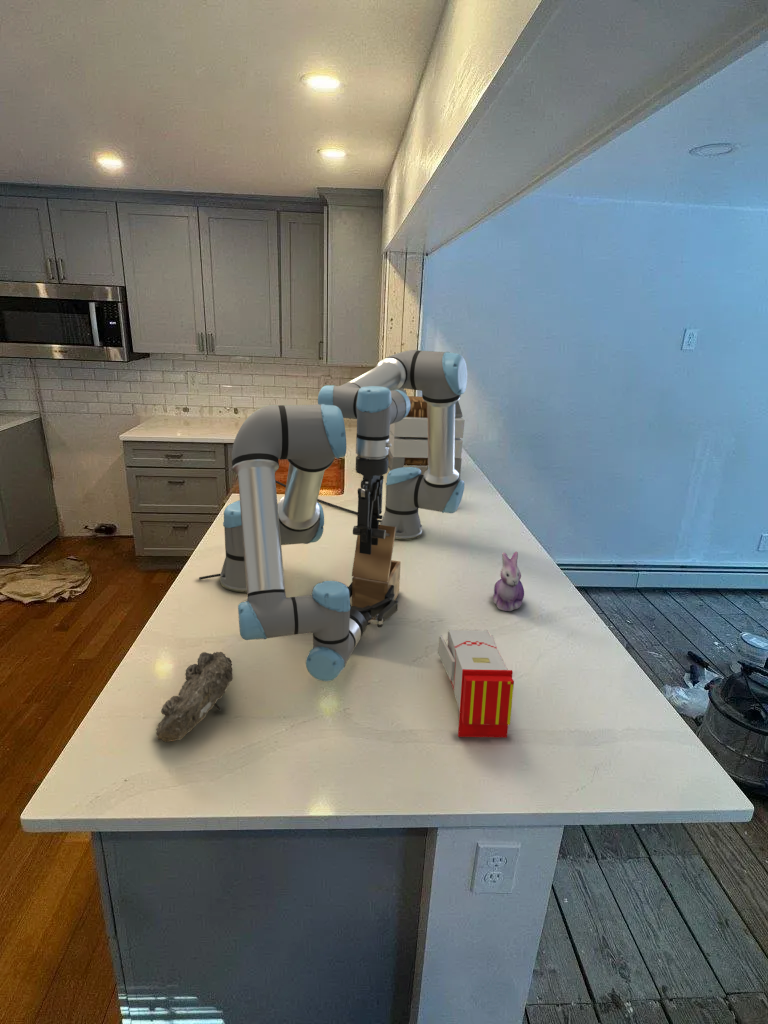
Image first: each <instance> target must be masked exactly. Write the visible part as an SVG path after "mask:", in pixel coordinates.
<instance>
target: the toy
mask: <svg viewBox="0 0 768 1024" xmlns="http://www.w3.org/2000/svg"><path fill="white" fill-rule="evenodd" d="M446 640H447V643H446V641H445V639H444V636H443V635H442V634H439V637H438V646H437V656H438V657H439V659H440V661H441V663H442V666H443V668H444V670H445V672H446V674H447V677H448V679H449V681H450V684H451V687H452V690H453V693H454V697H455V701H456V705H457V708H458V711H459V714H458V715H459V716H458V730H457V731H458V732H457V737H458V738H508V731H509V726H510V725H511V717H512V707H513V697H514V696H513V695H514V684H515V680H514V679H513V673H514V671H513V670H512V669H508V667H507V665H506V662H505V661H504V659H503V658H502V655H501V653H500V651H499V649H498V647H497V643H496V639H495V637H494V635H493V634H491V632H490V631H489V629H467V628H466V629H465V628H463V629H461V628H460V629H459V628H448V630H447V639H446Z"/></svg>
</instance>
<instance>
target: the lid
mask: <svg viewBox="0 0 768 1024" xmlns="http://www.w3.org/2000/svg"><path fill="white" fill-rule="evenodd" d="M356 526H357V525H354V526H353V528H352V535H355V536H356V544H355V548H354V549H355V550H354V558H353V564H352V572H351V577H352V578H353V577H359V578H365V579H372V580H378V581H384V582H388V581H389V574H390V566H391V560H393V551H394V544H395V539H394V538H395V531H396V527H392V526H385V525H380V524H379V529H374V528H372V537H373V538H378V545H371V554H370V555H369V554H363V553H359V551H360V529H358V528H356Z"/></svg>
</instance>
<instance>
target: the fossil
mask: <svg viewBox="0 0 768 1024" xmlns="http://www.w3.org/2000/svg"><path fill="white" fill-rule="evenodd" d="M196 662H197V663H193V664H189V665H188V666H187V668H186V669H185V673H184V676H185V677H184V678H185V681H184V683H183V684H182V685H181V688H180V690H179V692H178V695H173V696H172V697H170V699H168V700H166V701H165V703H164V704H163V705H162V707H161V710H160V712H161V714H162V715H163V718H162V719H161V721H159V722H158V723H157V728H156V732H155V733H156V736H157V740H162V741H163V742H164V743H170V742H174V741H181V740H182V739H183V738H184V737H185V736H186V735H187V734H188V733H189V732H191V731H192V730H193V729H194V728H195V727H196V726H197V725H198V724H199V723H200V722H201V721H202V720H203V719H205V718H206V716H207V715H208V712H209V711H210V710H212V709H213V707H215V708H216V709H217V711H221V710H222V707H220V705H218V704H217V701H218V700H219V699H221V698H222V697H223V696H224V695H225V693H226V689H228V687H229V685H230V683H231V682H233V680H234V679H233V678H234V674H233V671H234V670H233V662H232V659H231V658H230V657H228V656H227V655H226V653H224V652H223V651H216V652H215V651H214V652H212V653H211V652H206V651H204V652H203V651H202V652H201V653H200V654H199V656H198V658H197V661H196Z"/></svg>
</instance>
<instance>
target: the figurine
mask: <svg viewBox="0 0 768 1024" xmlns="http://www.w3.org/2000/svg"><path fill="white" fill-rule="evenodd" d="M501 558H502V559H501V560H502V568H501V570H500V574H499V575H500V579H498V580H497V581H496V582H495V584H494V588H493V598H492V600H493V604H494V605H495V606H496V607H497V609H498V610H500V611H504V612H505V611H506V612H512V611H513V610H518V609H519V608H521V605H522V604H523V601H524V598H525V589H524V585H523V583H522V581H521V578H522V573H521V570H520V568H519V566H518V560H519V552H518V551H515V552H514V553H513V554H512V556H511V558H509V557H508V555H507V553H506V552H505V551H503V552H502V553H501Z"/></svg>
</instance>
